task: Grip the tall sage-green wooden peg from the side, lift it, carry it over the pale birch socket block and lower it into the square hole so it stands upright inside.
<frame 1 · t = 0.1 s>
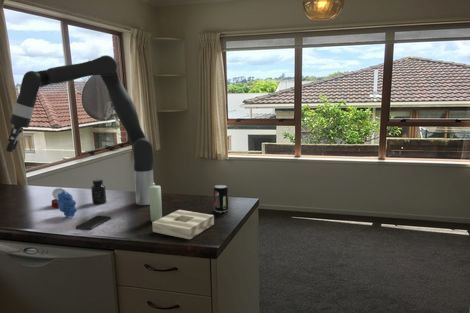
hand: (10, 150, 159), 31 cm above the worktop, tool tilted 20°, fingers open, 8 cm apart
supplement bottle: (99, 203, 187), on the worktop
phone: (94, 224, 157), on the worktop
peg: (156, 219, 160), on the worktop
canned food: (62, 205, 184), on the worktop
socket block: (184, 227, 150), on the worktop
beverage can: (221, 211, 171), on the worktop
grapes: (66, 217, 165), on the worktop
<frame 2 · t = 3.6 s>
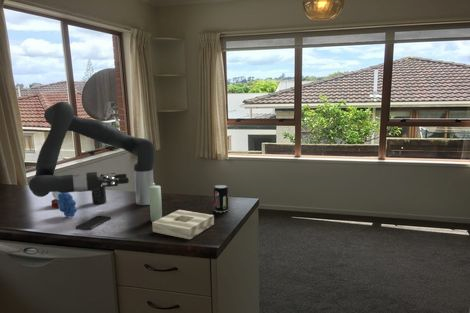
hand: (127, 178, 153), 20 cm above the worktop, tool horizontal, fingers open, 8 cm apart
nothing on the worktop moved.
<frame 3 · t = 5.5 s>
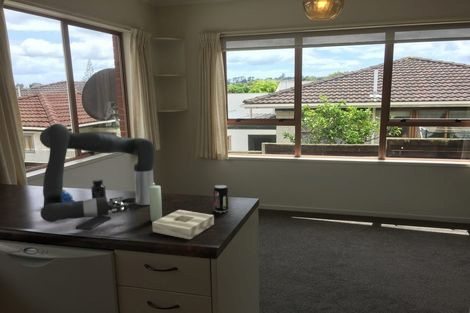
hand: (135, 202, 156), 9 cm above the worktop, tool horizontal, fingers open, 8 cm apart
nothing on the worktop moved.
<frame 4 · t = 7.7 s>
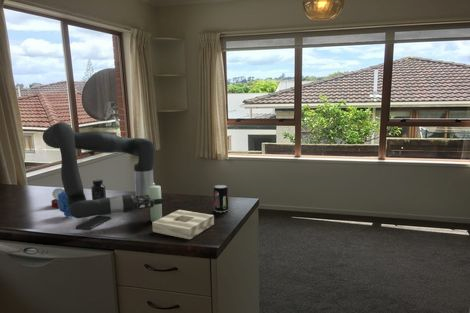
hand: (161, 199, 160), 9 cm above the worktop, tool horizontal, fingers closed on peg, 5 cm apart
peg: (156, 219, 160), on the worktop, touching gripper
everything else where it was.
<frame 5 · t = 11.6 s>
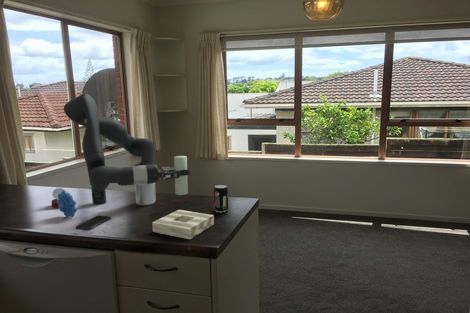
hand: (187, 170, 147), 24 cm above the worktop, tool horizontal, fingers closed on peg, 5 cm apart
peg: (181, 193, 147), point 15 cm above the worktop, touching gripper
everything else where it was.
when the fingers open (11 cm above the worktop, at t = 15.2 s): peg drops 2 cm, resting in socket block.
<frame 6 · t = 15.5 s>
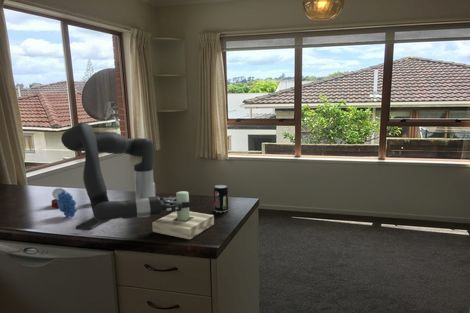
hand: (188, 201, 149), 11 cm above the worktop, tool horizontal, fingers open, 7 cm apart
peg: (183, 228, 150), resting in socket block
everything else where it was.
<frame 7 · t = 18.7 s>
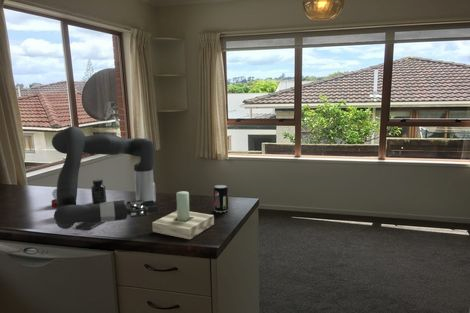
hand: (155, 205, 144), 11 cm above the worktop, tool horizontal, fingers open, 8 cm apart
nothing on the worktop moved.
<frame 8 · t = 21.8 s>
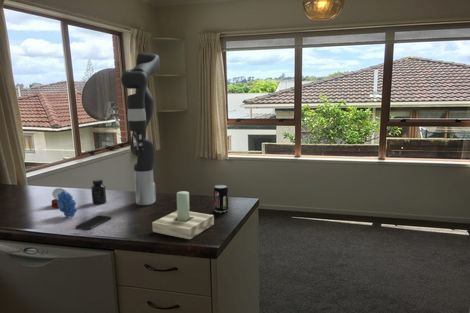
hand: (139, 157, 156), 28 cm above the worktop, tool pointing down, fingers open, 8 cm apart
nothing on the worktop moved.
at the end: peg 0.1 cm off-centre on the socket block, point 0.0 cm above the socket block's base; peg tilted 1°; the gripper is holding nothing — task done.
